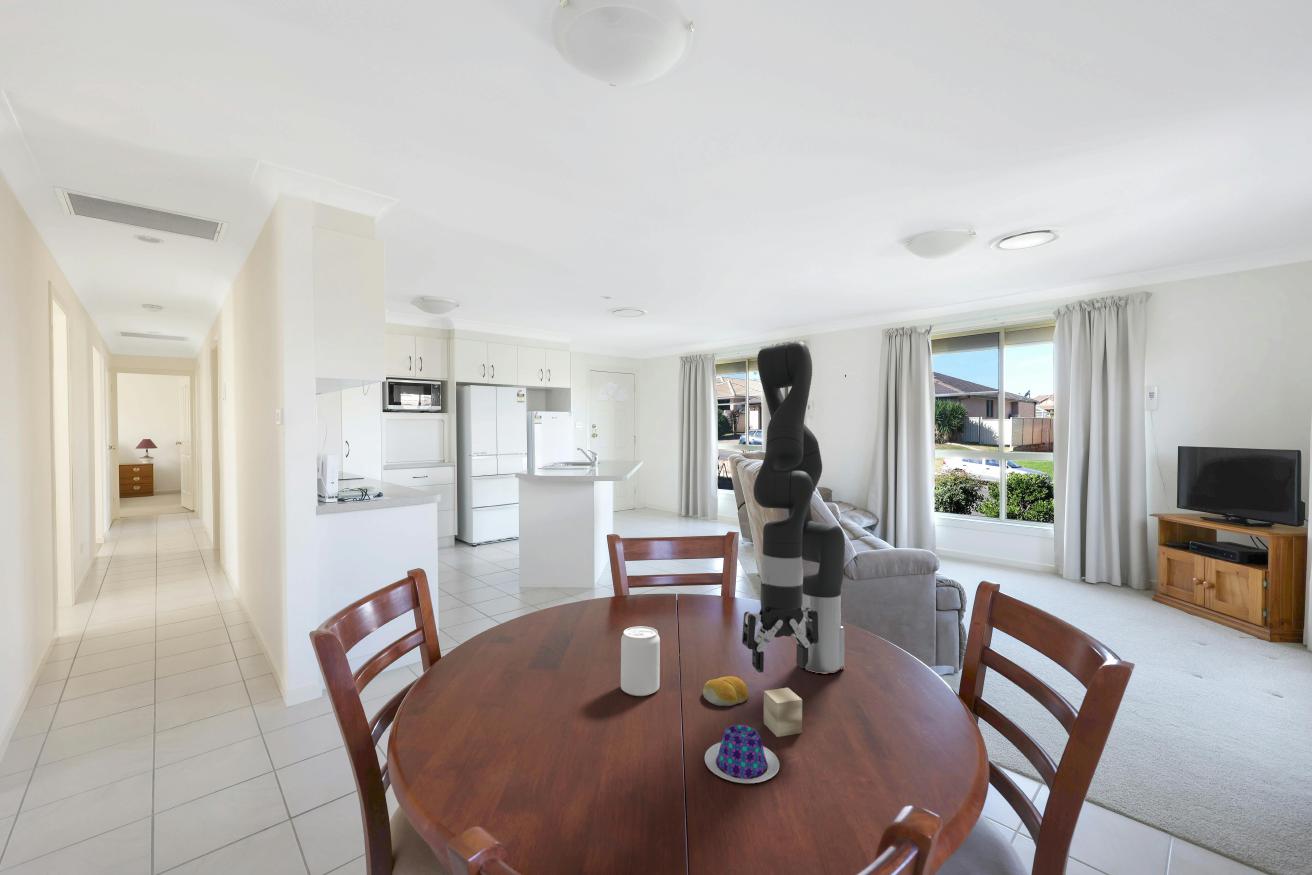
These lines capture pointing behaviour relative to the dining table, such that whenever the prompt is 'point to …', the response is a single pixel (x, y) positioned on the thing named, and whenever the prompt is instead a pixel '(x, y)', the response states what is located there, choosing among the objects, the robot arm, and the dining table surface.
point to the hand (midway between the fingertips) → (780, 668)
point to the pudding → (741, 756)
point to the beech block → (783, 712)
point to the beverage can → (640, 661)
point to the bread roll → (725, 691)
